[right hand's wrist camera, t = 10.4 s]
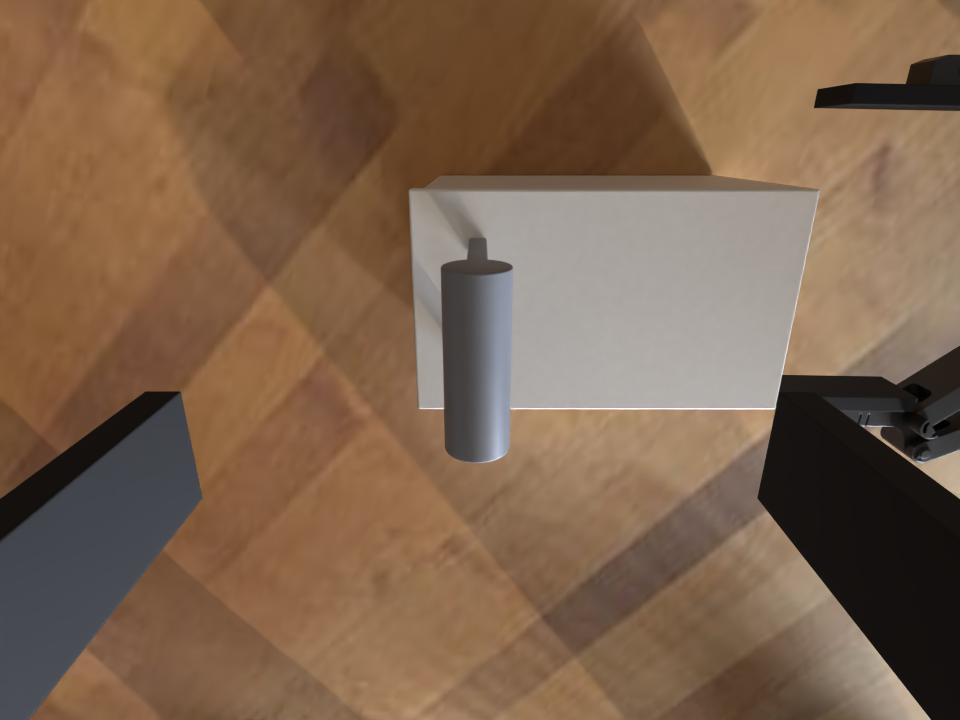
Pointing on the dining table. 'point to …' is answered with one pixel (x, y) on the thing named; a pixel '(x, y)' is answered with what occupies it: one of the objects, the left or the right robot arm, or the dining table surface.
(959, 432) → the left robot arm
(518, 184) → the chest
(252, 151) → the dining table surface
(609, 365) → the lid
